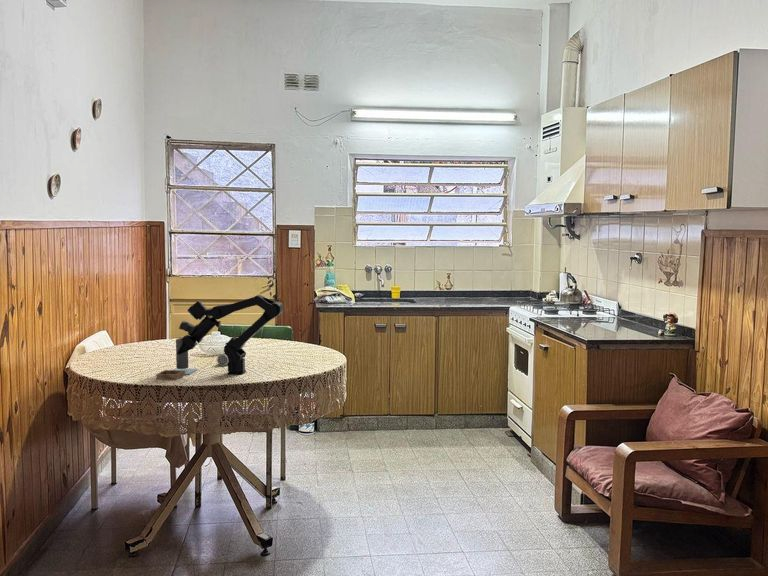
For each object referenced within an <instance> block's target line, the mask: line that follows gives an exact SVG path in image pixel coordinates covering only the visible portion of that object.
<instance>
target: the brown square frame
mask: <svg viewBox="0 0 768 576" xmlns="http://www.w3.org/2000/svg"><path fill="white" fill-rule="evenodd" d="M155 376H156V378H155V379H156V380H175V381H177V380H179V379H181V378H183V377H185V376H186V375H185V371H181V370H174V369H172V370H171V369H164V370H162V371H160V372H158V373H156V375H155Z"/></svg>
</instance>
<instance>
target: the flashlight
mask: <svg viewBox="0 0 768 576" xmlns="http://www.w3.org/2000/svg"><path fill="white" fill-rule="evenodd" d="M216 361H217V364H218V365H220V366H221V367H223V366H224V367H225V366H228V362H229V360H228V357H227V355H226V354H225V353H224V352H223V353H221V354H218V356H217V357H216Z"/></svg>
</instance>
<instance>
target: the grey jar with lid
mask: <svg viewBox="0 0 768 576" xmlns="http://www.w3.org/2000/svg"><path fill="white" fill-rule="evenodd" d="M183 337H184V336H178V338H177V339H175V354H176V355H175V358H176V362H175V365H176V368H177V369H189V350H188V351H186V352H184V353H182V354H179V355H178V354H177V352H178V350H179V349H180V347H181V346H182V344H183V342H182V340H181V339H182V338H183Z"/></svg>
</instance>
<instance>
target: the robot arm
mask: <svg viewBox="0 0 768 576" xmlns="http://www.w3.org/2000/svg"><path fill="white" fill-rule="evenodd" d="M254 306H257V307H259V308H260V309H262V310H264V311H263V313H262V314H261V316H260V317H259V318H258V319H257V320H255V321H254V323H252V324H251V325H250V326H249V327H248V328H247V329H246V330H245V331H244V332H243V333H241V334H240V335H239V336H238V337H237V335H234V336H233V337H231V338H230V339H229V340H228V341H227V342H225V346H224V347H223V354H224V353H225V354H226V355H227V357H228V360H229V362H228V365H227V374H228V375H243V374H245V373H246V372H247V370H246V355H247V352H246V351H245V350H244V349H243V348H244V347H245V345H246V344H247V342H249V340H251V339H252V337H254V335H256V334H257V333H258V332H259V331H260V330H261V329H262V328H263V327H264V326H266V325H267V324H268V323H269V322H270V321H272V320H273V319H275V318H277V317H278V316H280V315H282V314H283V312H284V311H285V309H284V308H285V307H284V305H283V303H282V302H280V301H274V300H273V299H270V298H268V297H265V296H263V295H262V294H257V295H255V296H252V297H249V298H246V299H243V300H240V301H237V302H234V303H226V304H225V303H223V304H219V305H215V306H212V308H207V307H206V305H204V304H203V303H202V301H200V300H197V301H196V302H194V304H192V305H191V306H190V307H188V309H187V312H188V313H189V314H190V316H192V317H193V319H195V321H198V320H199V321H200V322H199V323H197V324H196V325H194V324H193V323H190V322H188V321H186V320H182V321H181V322H180V324H179V327H178V329H179V330H181V331H182V330H183V332H187V334H185V335H184V336H182V337H183V338H182V339H181V340H182V342H183V344H182V346H181V347H180V349H179V350H178V352H177V354H178V355H179V354H182V353H184V352H186V351H188V352H189V351H191V350H193V349H194V348H195V347H196V346H197V345H198V344H200V343H201V342H202V341H203V338H205V336H207V335H208V333H210V332H211V330H212V329H213V328H215V327H217V328H221V327H222V325H221V320H220V319H223V318H226V317H227V316H229V315H231V314H233V313H234V312H237V311H240V310H241V311H242V310H244V309H247V308H250V307H254Z"/></svg>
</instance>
